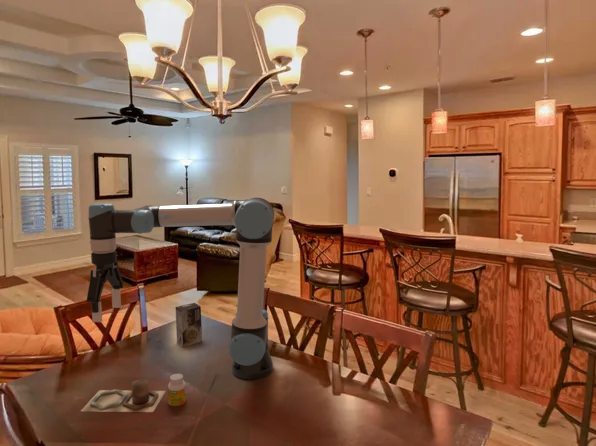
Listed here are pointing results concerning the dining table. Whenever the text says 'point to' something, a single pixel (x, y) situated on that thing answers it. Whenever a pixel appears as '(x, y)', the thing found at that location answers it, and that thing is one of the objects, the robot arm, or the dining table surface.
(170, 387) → the supplement bottle
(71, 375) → the dining table surface
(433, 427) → the dining table surface
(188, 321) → the coffee box
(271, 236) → the robot arm
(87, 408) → the board
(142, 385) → the walnut dowel stub
